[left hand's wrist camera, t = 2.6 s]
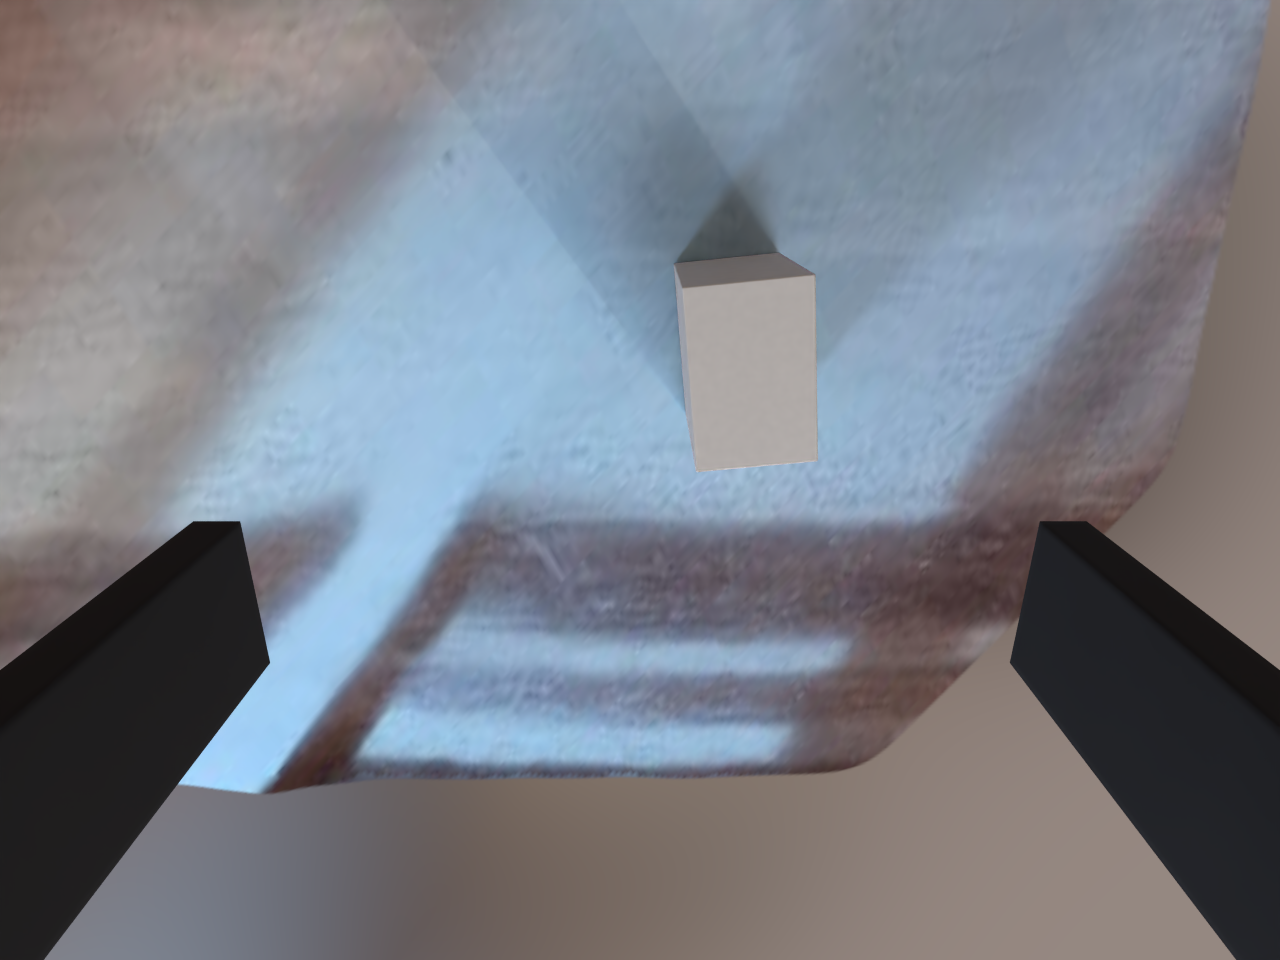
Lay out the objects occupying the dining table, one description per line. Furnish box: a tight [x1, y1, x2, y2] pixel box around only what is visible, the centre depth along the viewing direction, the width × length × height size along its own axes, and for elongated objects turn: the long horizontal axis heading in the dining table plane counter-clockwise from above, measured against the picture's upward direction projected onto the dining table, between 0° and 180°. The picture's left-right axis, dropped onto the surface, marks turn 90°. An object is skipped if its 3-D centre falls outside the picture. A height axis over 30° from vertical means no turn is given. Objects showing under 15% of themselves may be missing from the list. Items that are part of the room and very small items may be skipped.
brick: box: [674, 253, 818, 472], centre depth 34 cm, size 5×8×8 cm, turn 6°
